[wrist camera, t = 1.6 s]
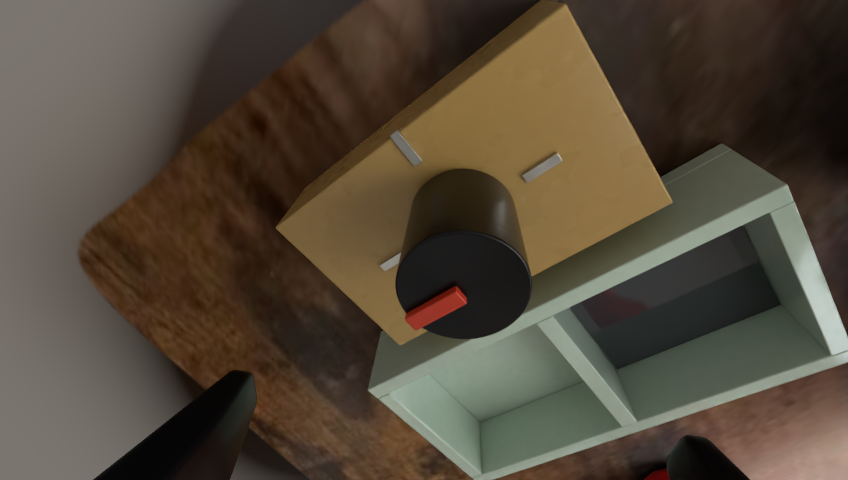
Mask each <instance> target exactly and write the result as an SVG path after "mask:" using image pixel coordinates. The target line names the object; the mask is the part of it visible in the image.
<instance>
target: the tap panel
mask: <svg viewBox="0 0 848 480" xmlns="http://www.w3.org/2000/svg"><path fill="white" fill-rule="evenodd" d="M455 169H473V170H478V171H481V172H484V173H487V174H489V175H491V176H493V177H494V178H496V179H497V180H499V181H500V182H501V183H502V184H503V185H504V186H505V187H506V188H507V189H508V191H509V193H510V194H511V196H512V198H513V201H514V204H515V208H516V212H517V216H518V220H519V225H520V229H521V233H522V237H523V242H524V246H525V250H526V254H527V259H528V263H529V267H530V272H531V276H534V275H536V274H538V273H540V272H542V271H543V270H545V269H547V268H549V267H551V266H553V265H555V264H557V263H559V262H561V261H563V260H564V259H566V258H568V257H570V256H572V255H574V254H576V253H578V252H580V251H582V250H584V249H585V248H587V247H589V246H591V245H593V244H595V243H597V242H599V241H601V240H603V239H605V238H606V237H608V236H610V235H612V234H614V233H616V232H618V231H620V230H622V229H624V228H626V227H627V226H629V225H631V224H633V223H635V222H637V221H639V220H641V219H643V218H645V217H647V216H648V215H650V214H652V213H654V212H656V211H658V210H660V209H662V208H664V207H666V206H668V205H669V204H671V203H672V202H673V200H672V198H671V196H670V194H669V193H668V191H667V189H666V187H665V185H664V183H663V182H662V180H661V178H660V176H659V174H658V172H657V171H656V169H655V167H654V165H653V163H652V161H651V159H650V158H649V156H648V154H647V152H646V150H645V148H644V147H643V145H642V143H641V141H640V139H639V137H638V135H637V134H636V132H635V130H634V128H633V126H632V124H631V123H630V121H629V119H628V117H627V115H626V113H625V111H624V110H623V108H622V106H621V104H620V102H619V100H618V99H617V97H616V95H615V93H614V91H613V89H612V88H611V86H610V84H609V82H608V80H607V78H606V76H605V75H604V73H603V71H602V69H601V67H600V65H599V64H598V62H597V60H596V58H595V56H594V54H593V52H592V51H591V49H590V47H589V45H588V43H587V41H586V40H585V38H584V36H583V34H582V32H581V30H580V28H579V27H578V25H577V23H576V21H575V19H574V17H573V16H572V14H571V12H570V10H569V8H568V6H567V5H566V4H564V3H560V2H555V1H551V0H540V1H539V2H538V3H536V4H535V5H534V6H533V7H531V8H530V9H529V10H528V11H526V12H525V13H524V14H523V15H521V16H520V17H519V18H518V19H516V20H515V21H514V22H513V23H511V24H510V25H509V26H508V27H506V28H505V29H504V30H503V31H501V32H500V33H499V34H498V35H496V36H495V37H494V38H492V39H491V40H490V41H489V42H487V43H486V44H485V45H484V46H482V47H481V48H480V49H479V50H477V51H476V52H475V53H474V54H472V55H471V56H470V57H469V58H467V59H466V60H465V61H464V62H462V63H461V64H460V65H459V66H457V67H456V68H455V69H454V70H452V71H451V72H450V73H449V74H447V75H446V76H445V77H444V78H442V79H441V80H440V81H438V82H437V83H436V84H435V85H433V86H432V87H431V88H430V89H428V90H427V91H426V92H425V93H423V94H422V95H421V96H420V97H418V98H417V99H416V100H415V101H413V102H412V103H411V104H410V105H408V106H407V107H406V108H405V109H403V110H402V111H401V112H400V113H398V114H397V115H396V116H395V117H393V118H392V119H391V120H390V121H388V122H387V123H386V124H384V125H383V126H382V127H381V128H379V129H378V130H377V131H376V132H374V133H373V134H372V135H371V136H369V137H368V138H367V139H366V140H364V141H363V142H362V143H361V144H359V145H358V146H357V147H356V148H354V149H353V150H352V151H351V152H349V153H348V154H347V155H346V156H344V157H343V158H342V159H341V160H339V161H338V162H337V163H336V164H334V165H333V166H332V167H330V168H329V169H328V170H327V171H325V172H324V173H323V174H322V175H320V176H319V177H318V178H317V179H315V180H314V181H313V182H312V183H310V184H309V185H308V186H307V187H306V188H305V189H304V190H303V192H302V193H301V194H300V196H299V197H298V198H297V200H296V201H295V202H294V204H293V205H292V206H291V208H290V209H289V210H288V212H287V213H286V214H285V216H284V217H283V218H282V219H281V221H280V222H279V223H278V225H277V226H276V229H277V230H278V231H279V232H280V233H281V234H282V235H283V236H284V237H285V238H286V239H287V240H288V241H290V242H291V243H292V244H293V245H294V246H295V247H296V248H297V249H298V250H299V251H300V252H301V253H302V254H303V255H304V256H305V257H306V258H308V259H309V260H310V261H311V262H312V263H313V264H314V265H315V266H316V267H317V268H318V269H319V270H320V271H321V272H322V273H323V274H324V275H326V276H327V277H328V278H329V279H330V280H331V281H332V282H333V283H334V284H335V285H336V286H337V287H338V288H339V289H340V290H341V291H343V292H344V293H345V294H346V295H347V296H348V297H349V298H350V299H351V300H352V301H353V302H354V303H355V304H356V305H357V306H358V307H359V308H361V309H362V310H363V311H364V312H365V313H366V314H367V315H368V316H369V317H370V318H371V319H372V320H373V321H374V322H375V323H376V324H377V325H379V326H380V327H381V328H382V329H383V330H384V331H385V332H386V333H387V334H388V335H389V336H390V337H391V338H392V339H393V340H394V341H395V342H397V343H398V344H399V345H402V344H404V343H406V342H408V341H410V340H412V339H414V338H416V337H417V336H419V335H421V334H423V333H425V332H427V330H425V329H423V328H420V329H418V330H414V329H413V328H412V327H411V326H410V325H409V324H408V323H407V322H406V321H405V315H406V313H405V311H404V310H403V308H402V307H401V305H400V302H399V300H398V297H397V294H396V288H395V279H396V273H397V269H398V264H399V260H400V255H401V251H402V246H403V242H404V237H405V233H406V228H407V224H408V219H409V215H410V210H411V206H412V203H413V200H414V198H415V196H416V194H417V192H418V191H419V189H420V188H421V187H422V186H423V185H424V184H425V183H426V182H427V181H428V180H430V179H431V178H433V177H434V176H436V175H438V174H440V173H443V172H446V171H449V170H455Z"/></svg>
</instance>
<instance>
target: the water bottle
mask: <svg viewBox="0 0 848 480" xmlns="http://www.w3.org/2000/svg"><path fill="white" fill-rule="evenodd" d="M643 480H669V476H668V471H667V468H666V469H661V470H656V471H653V472H652V473H651V474H649V475H648V476H647V477H646V478H645V479H643Z"/></svg>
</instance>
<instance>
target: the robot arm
mask: <svg viewBox="0 0 848 480" xmlns="http://www.w3.org/2000/svg"><path fill="white" fill-rule="evenodd" d="M256 402H257V395H256V388H255V381H254V376H253V374H252V373H251V372H247V371H240V370H233V371H231V372H229V373H227V374H226V375H225V376H224V377H222V378H221V379H220V380H219V381H217V382H216V383H215V384H214V385H212V386H211V387H210V388H209V389H207V390H206V391H205V392H203V393H202V394H201V395H200V396H198V397H197V398H196V399H195V400H193V401H192V402H191V403H190V404H188V405H187V406H186V407H185V408H183V409H182V410H181V411H179V412H178V413H177V414H176V415H174V416H173V417H172V418H171V419H169V420H168V421H167V422H166V423H164V424H163V425H162V426H161V427H159V428H158V429H157V430H155V432H153V433H152V434H150V435H149V436H148V437H147V438H145V439H144V440H143V441H142V442H140V443H139V444H138V445H137V446H135V447H134V448H133V449H132V450H130V451H129V452H128V453H126V454H125V455H124V456H123V457H121V458H120V459H119V460H118V461H116V462H115V463H114V464H113V465H111V466H110V467H109V468H108V469H106V470H105V471H104V472H102V473H101V474H100V475H99V476H97V477H96V478H95V479H94V480H230V478H231V475H232V472H233V469H234V467H235V463H236V461H237V458H238V455H239V452H240V450H241V447H242V444H243V441H244V438H245V435H246V433H247V430H248V427H249V424H250V421H251V419H252V416H253V413H254V410H255V407H256ZM667 471H668V476H669V480H750V479H749V478H748V477H747V476H746V475H744V474H743V473H742V472H741V471H740V470H739V469H738V468H737V467H736V466H735V465H734V464H733V463H732V462H731V461H730V460H729V459H728V458H727V457H726V456H725V455H724V454H723V453H722V452H721V451H720V450H719V449H718V448H717V447H716V446H715V445H714V444H713V443H712V442H711V441H709V440H708V439H706V438H703V437H698V436H691V435H686V436H683V437H682V438H681V439H680V441H679V442H678V443H677V445H676V446H675V447H674V449H673V450H672V451H671V453H670V454H669V456H668V458H667Z"/></svg>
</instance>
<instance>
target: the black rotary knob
mask: <svg viewBox="0 0 848 480" xmlns="http://www.w3.org/2000/svg"><path fill="white" fill-rule="evenodd" d="M395 288H396V294H397V297H398V300H399V302H400V305H401V307H402V308H403V310H404V311H405V313H406V315H405V321H406V322H407V323H408V324H409V325H410V326H411V327H412V328H413V329H414V330H418V329H420V328H423V329H425V330H427V331H429V332H431V333H434V334H436V335H440V336H443V337H447V338H452V339H477V338H482V337H486V336H490V335H493V334H495V333H498V332H500V331H502V330H504V329H505V328H507V327H508V326H510V325H511V324H513V323H514V322H515V321H516V320H517V319H518V318H519V317H520V316H521V314H522V313H523V312H524V310H525V309H526V307H527V305H528V303H529V300H530V298H531V294H532V276H531V272H530V267H529V263H528V259H527V254H526V250H525V246H524V242H523V237H522V233H521V229H520V225H519V220H518V216H517V212H516V208H515V204H514V201H513V198H512V196H511V194H510V193H509V191H508V189H507V188H506V187H505V186H504V185H503V184H502V183H501V182H500V181H499V180H497V179H496V178H494V177H493V176H491V175H489V174H487V173H484V172H481V171H478V170H473V169H455V170H449V171H446V172H443V173H440V174H438V175H436V176H434V177H433V178H431V179H430V180H428V181H427V182H426V183H425V184H424V185H423V186H422V187H421V188H420V189H419V191H418V192H417V194H416V196H415V198H414V200H413V203H412V206H411V210H410V215H409V219H408V224H407V228H406V233H405V237H404V242H403V246H402V251H401V255H400V260H399V264H398V269H397V273H396V279H395Z"/></svg>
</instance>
